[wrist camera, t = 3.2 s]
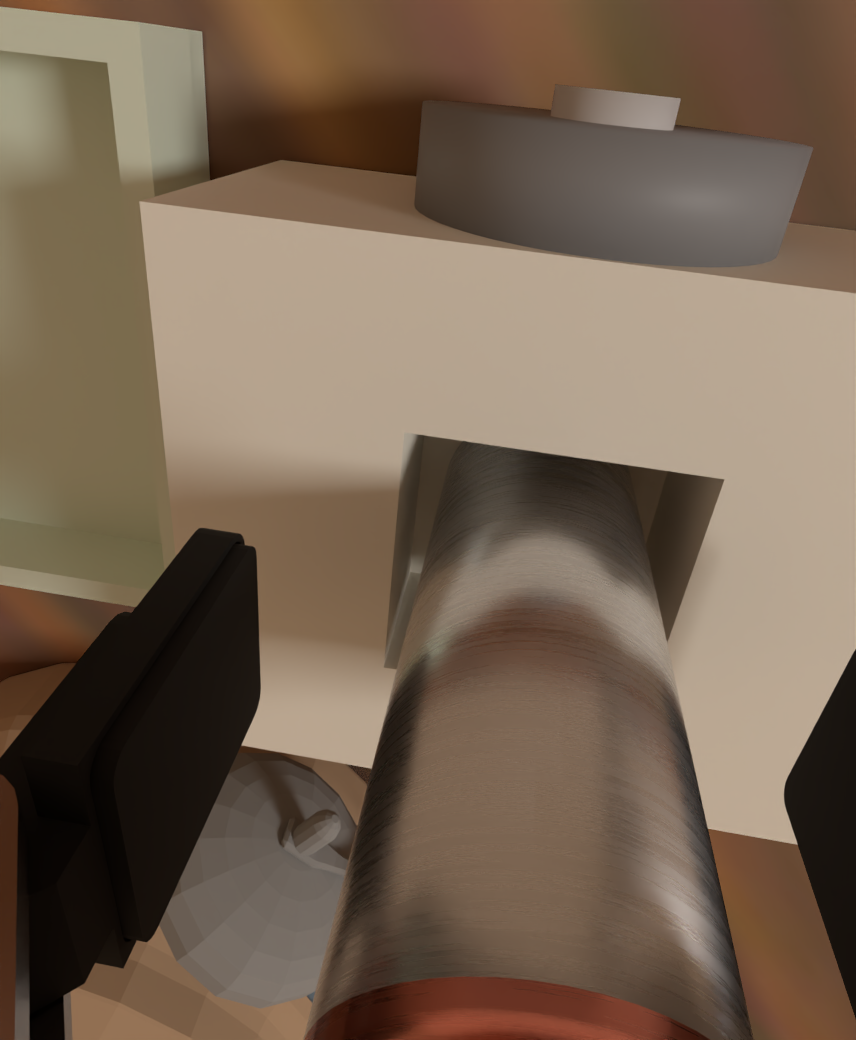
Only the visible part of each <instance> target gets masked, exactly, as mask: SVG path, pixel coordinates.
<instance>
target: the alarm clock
mask: <svg viewBox="0 0 856 1040" xmlns="http://www.w3.org/2000/svg"><path fill="white" fill-rule="evenodd" d="M75 664H76V663H60V664H57V665H53V666H49V667H45V668H42V669H38V670H34V671H30V672H27V673H23V674H19V675H15V676H12V677H9V678H6V679H5V680H3V681H2V682H0V757H1V756H2V755H3V754H4V752H5V751H6V750H7V749H8V747H9V746H10V745H11V744H12V742H13V741H14V740H15V739H16V737H17V736H18V735H19V734H20V732H21V731H22V730H23V729H24V727H25V726H26V725H27V724H28V723H29V721H30V720H31V719H32V718H33V716H34V715H35V714H36V713H37V711H38V710H39V709H40V708H41V706H42V705H43V704H44V703H45V701H46V700H47V699H48V698H49V697H50V695H51V694H52V693H53V692H54V690H55V689H56V688H57V687H58V685H59V684H60V683H61V682H62V680H63V679H64V678H65V677H66V675H67V674H68V673H69V672H70V671H71V669H72V668H73V667H74V666H75ZM366 789H367V784H366V782H365V781H364V780H363V779H362V778H361V777H360V776H359V775H357V774H356V773H355V772H354V771H353V770H352V769H351V768H350V767H349V766H348V765H347V764H343V763H338V762H332V761H326V760H321V759H315V758H310V757H304V756H298V755H293V754H287V753H282V752H276V751H270V750H265V749H259V748H254V747H248V746H242V745H241V747H240V749H239V751H238V753H237V756H236V758H235V760H234V762H233V764H232V767H231V769H230V771H229V773H228V775H227V778H226V780H225V782H224V784H223V786H222V788H221V791H220V793H219V795H218V797H217V799H216V802H215V804H214V806H213V808H212V810H211V812H210V815H209V817H208V819H207V821H206V823H205V826H204V828H203V830H202V832H201V834H200V836H199V839H198V841H197V843H196V845H195V847H194V850H193V852H192V854H191V856H190V858H189V861H188V863H187V865H186V867H185V869H184V871H183V874H182V876H181V878H180V880H179V882H178V885H177V887H176V889H175V891H174V893H173V895H172V898H171V900H170V902H169V904H168V906H167V909H166V911H165V913H164V915H163V917H162V919H161V922H160V924H159V926H158V928H157V930H156V932H155V934H154V935H153V937H152V938H151V939H150V940H149V941H148V942H142V941H136V943H135V945H134V947H133V950H132V952H131V954H130V956H129V958H128V960H127V962H126V964H125V966H124V968H118V967H113V966H108V965H103V964H98V963H95V964H94V966H93V968H92V970H91V972H90V974H89V976H88V978H87V980H86V982H85V984H83V985H81V986H80V987H78V988H76V989H74V990H73V991H71V1014H72V1037H73V1040H303V1038H304V1035H305V1031H306V1027H307V1023H308V1019H309V1015H310V1011H311V1007H312V1003H313V999H314V995H315V991H316V987H317V983H318V979H319V975H320V971H321V967H322V963H323V959H324V955H325V951H326V947H327V943H328V939H329V936H330V932H331V928H332V924H333V920H334V916H335V912H336V908H337V904H338V900H339V896H340V892H341V888H342V884H343V880H344V876H345V872H346V868H347V864H348V860H349V856H350V852H351V848H352V844H353V841H354V837H355V833H356V829H357V825H358V821H359V817H360V813H361V809H362V805H363V801H364V797H365V793H366Z"/></svg>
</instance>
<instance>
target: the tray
mask: <svg viewBox="0 0 856 1040" xmlns="http://www.w3.org/2000/svg"><path fill="white" fill-rule="evenodd" d="M207 181H210V169H209V151H208V132H207V114H206V95H205V77H204V59H203V40H202V32H201V31H194V30H187V29H181V28H174V27H167V26H161V25H154V24H147V23H141V22H132V21H123V20H114V19H105V18H97V17H88V16H79V15H70V14H61V13H52V12H43V11H34V10H25V9H16V8H7V7H0V585H6V586H12V587H18V588H24V589H30V590H36V591H42V592H48V593H54V594H60V595H66V596H72V597H78V598H84V599H90V600H96V601H102V602H108V603H114V604H120V605H126V606H132V607H137V605H138V604H139V603H140V602H141V600H142V599H143V598H144V596H145V595H146V594H147V593H148V591H149V590H150V589H151V587H152V586H153V585H154V584H155V582H156V581H157V580H158V578H159V577H160V576H161V575H162V573H163V572H164V571H165V569H166V568H167V567H168V566H169V564H170V563H171V562H172V560H173V559H174V558H175V557H176V556H175V546H174V536H173V526H172V516H171V507H170V497H169V487H168V477H167V467H166V458H165V448H164V438H163V428H162V418H161V408H160V399H159V389H158V379H157V369H156V359H155V350H154V340H153V330H152V320H151V310H150V300H149V291H148V281H147V271H146V261H145V251H144V242H143V232H142V222H141V212H140V202H139V201H142V200H145V199H149V198H152V197H156V196H159V195H163V194H166V193H169V192H173V191H176V190H180V189H183V188H187V187H190V186H193V185H197V184H200V183H204V182H207Z"/></svg>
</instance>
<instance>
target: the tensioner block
mask: <svg viewBox="0 0 856 1040" xmlns="http://www.w3.org/2000/svg"><path fill="white" fill-rule="evenodd" d="M680 100H681V99H680V98H672V97H663V96H654V95H645V94H636V93H627V92H619V91H610V90H601V89H592V88H583V87H574V86H566V85H557V84H555V91H554V97H553V103H552V109H551V110H545V109H535V108H525V107H515V106H505V105H493V104H482V103H469V102H454V101H423V102H422V115H421V127H420V139H419V152H418V164H417V176H408V175H400V174H392V173H384V172H376V171H368V170H360V169H351V168H343V167H335V166H327V165H319V164H311V163H303V162H295V161H286V160H279V161H276V162H272V163H269V164H265V165H262V166H259V167H255V168H252V169H248V170H245V171H241V172H238V173H235V174H231V175H228V176H224V177H221V178H217V179H214V180H211V181H207V182H204V183H200V184H197V185H193V186H190V187H187V188H183V189H180V190H176V191H173V192H169V193H166V194H163V195H159V196H156V197H152V198H149V199H145V200H142V201H139V202H140V212H141V222H142V232H143V242H144V251H145V261H146V271H147V281H148V291H149V300H150V310H151V320H152V330H153V340H154V350H155V359H156V369H157V379H158V389H159V399H160V408H161V418H162V428H163V438H164V448H165V458H166V467H167V477H168V487H169V497H170V507H171V516H172V526H173V536H174V546H175V556H176V555H177V554H178V553H179V552H180V550H181V549H182V548H183V546H184V545H185V544H186V543H187V541H188V540H189V539H190V537H191V536H192V535H193V534H194V532H195V531H196V530H197V529H199V528H208V529H214V530H220V531H227V532H233V533H239V534H241V535H242V536H243V538H244V542H245V545H248V546H253V547H255V549H256V554H257V581H258V613H259V646H260V678H261V693H260V700H259V704H258V708H257V711H256V714H255V716H254V719H253V721H252V723H251V725H250V727H249V729H248V732H247V734H246V736H245V738H244V740H243V743H242V746H248V747H254V748H259V749H265V750H270V751H276V752H282V753H287V754H293V755H298V756H304V757H310V758H315V759H321V760H326V761H332V762H338V763H343V764H349V765H354V766H360V767H366V768H371V769H372V765H373V761H374V757H375V753H376V749H377V745H378V742H379V738H380V734H381V730H382V726H383V722H384V718H385V714H386V710H387V706H388V702H389V698H390V694H391V690H392V686H393V682H394V678H395V674H396V670H397V666H398V662H399V658H400V654H401V650H402V646H403V643H404V639H405V635H406V631H407V627H408V623H409V619H410V615H411V611H412V607H413V603H414V599H415V595H416V591H417V587H418V583H419V579H420V575H421V571H422V567H423V563H424V559H425V555H426V551H427V548H428V544H429V540H430V536H431V532H432V528H433V524H434V520H435V516H436V512H437V508H438V504H439V500H440V496H441V492H442V488H443V484H444V480H445V476H446V472H447V469H448V466H449V463H450V461H451V458H452V457H453V455H454V453H455V451H456V449H457V448H458V447H459V445H460V444H461V443H462V441H466V442H473V443H480V444H487V445H494V446H501V447H507V448H514V449H521V450H528V451H535V452H541V453H548V454H555V455H562V456H569V457H575V458H582V459H589V460H596V461H603V462H610V463H616V464H623V465H628V468H629V471H630V475H631V480H632V484H633V489H634V493H635V498H636V502H637V507H638V512H639V516H640V521H641V525H642V530H643V534H644V539H645V544H646V548H647V553H648V557H649V562H650V567H651V571H652V576H653V580H654V585H655V589H656V594H657V599H658V603H659V608H660V612H661V617H662V621H663V626H664V631H665V635H666V640H667V644H668V649H669V653H670V658H671V663H672V667H673V672H674V676H675V681H676V686H677V690H678V695H679V699H680V704H681V708H682V713H683V718H684V722H685V727H686V731H687V736H688V740H689V745H690V750H691V754H692V759H693V763H694V768H695V772H696V777H697V782H698V786H699V791H700V795H701V800H702V805H703V809H704V814H705V818H706V823H707V827H708V829H713V830H719V831H725V832H730V833H736V834H741V835H747V836H753V837H758V838H764V839H769V840H775V841H781V842H786V843H792V844H797V841H796V838H795V835H794V832H793V829H792V826H791V823H790V820H789V817H788V814H787V811H786V807H785V803H784V787H785V782H786V780H787V777H788V775H789V774H790V772H791V770H792V768H793V766H794V764H795V762H796V760H797V758H798V757H799V755H800V753H801V751H802V749H803V747H804V745H805V743H806V741H807V740H808V738H809V736H810V734H811V732H812V730H813V728H814V726H815V724H816V722H817V721H818V719H819V717H820V715H821V713H822V711H823V709H824V707H825V705H826V704H827V702H828V700H829V698H830V696H831V694H832V692H833V690H834V688H835V687H836V685H837V683H838V681H839V679H840V677H841V675H842V673H843V671H844V669H845V668H846V666H847V664H848V662H849V660H850V658H851V656H852V654H853V652H854V651H855V649H856V231H855V230H847V229H839V228H831V227H823V226H815V225H807V224H798V223H790V222H789V220H790V217H791V214H792V211H793V208H794V205H795V202H796V199H797V196H798V193H799V190H800V187H801V184H802V181H803V178H804V175H805V172H806V169H807V166H808V163H809V160H810V157H811V154H812V151H813V148H812V147H810V146H806V145H802V144H797V143H792V142H787V141H782V140H776V139H770V138H764V137H758V136H751V135H745V134H738V133H731V132H724V131H717V130H710V129H703V128H696V127H688V126H681V125H675V121H676V117H677V113H678V108H679V104H680ZM797 845H798V844H797Z"/></svg>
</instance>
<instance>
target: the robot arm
mask: <svg viewBox="0 0 856 1040" xmlns="http://www.w3.org/2000/svg"><path fill="white" fill-rule="evenodd" d="M260 693H261V678H260V646H259V613H258V581H257V554H256V549H255V547H253V546H248V545H245V542H244V538H243V536H242V535H241V534H239V533H233V532H227V531H220V530H214V529H208V528H199V529H197V530H196V531H195V532H194V534H193V535H192V536H191V537H190V539H189V540H188V541H187V543H186V544H185V545H184V546H183V548H182V549H181V550H180V552H179V553H178V554H177V555H176V557H175V558H174V559H173V560H172V562H171V563H170V564H169V566H168V567H167V568H166V569H165V571H164V572H163V573H162V575H161V576H160V577H159V578H158V580H157V581H156V582H155V584H154V585H153V586H152V587H151V589H150V590H149V591H148V593H147V594H146V595H145V596H144V598H143V599H142V600H141V602H140V603H139V604H138V605H137V607H136V608H135V609H134V611H133V612H132V613H129V612H123V613H120V614H118V615H117V616H115V617H114V618H113V619H112V620H111V621H110V622H109V623H108V625H107V626H106V627H105V628H104V630H103V631H102V632H101V633H100V635H99V636H98V637H97V638H96V640H95V641H94V642H93V643H92V644H91V646H90V647H89V648H88V649H87V651H86V652H85V653H84V654H83V656H82V657H81V658H80V659H79V661H78V662H77V663H76V664H75V666H74V667H73V668H72V669H71V671H70V672H69V673H68V674H67V675H66V677H65V678H64V679H63V680H62V682H61V683H60V684H59V685H58V687H57V688H56V689H55V690H54V692H53V693H52V694H51V695H50V697H49V698H48V699H47V700H46V701H45V703H44V704H43V705H42V706H41V708H40V709H39V710H38V711H37V713H36V714H35V715H34V716H33V718H32V719H31V720H30V721H29V723H28V724H27V725H26V726H25V727H24V729H23V730H22V731H21V732H20V734H19V735H18V736H17V737H16V739H15V740H14V741H13V742H12V744H11V745H10V746H9V747H8V749H7V750H6V751H5V752H4V754H3V755H2V756H1V757H0V1040H73V1037H72V1014H71V991H73V990H74V989H76V988H78V987H80V986H81V985H83V984H85V982H86V980H87V978H88V976H89V974H90V972H91V970H92V968H93V966H94V964H95V963H98V964H103V965H108V966H113V967H118V968H124V966H125V964H126V962H127V960H128V958H129V956H130V954H131V952H132V950H133V947H134V945H135V943H136V941H142V942H148V941H149V940H150V939H151V938H152V937H153V935H154V934H155V932H156V930H157V928H158V926H159V924H160V922H161V919H162V917H163V915H164V913H165V911H166V909H167V906H168V904H169V902H170V900H171V898H172V895H173V893H174V891H175V889H176V887H177V885H178V882H179V880H180V878H181V876H182V874H183V871H184V869H185V867H186V865H187V863H188V861H189V858H190V856H191V854H192V852H193V850H194V847H195V845H196V843H197V841H198V839H199V836H200V834H201V832H202V830H203V828H204V826H205V823H206V821H207V819H208V817H209V815H210V812H211V810H212V808H213V806H214V804H215V802H216V799H217V797H218V795H219V793H220V791H221V788H222V786H223V784H224V782H225V780H226V778H227V775H228V773H229V771H230V769H231V767H232V764H233V762H234V760H235V758H236V756H237V753H238V751H239V749H240V747H241V745H242V743H243V740H244V738H245V736H246V734H247V732H248V729H249V727H250V725H251V723H252V721H253V719H254V716H255V714H256V711H257V708H258V704H259V700H260ZM784 803H785V807H786V811H787V814H788V817H789V820H790V823H791V826H792V829H793V832H794V835H795V838H796V841H797V844H798V847H799V850H800V853H801V856H802V859H803V862H804V865H805V868H806V871H807V874H808V877H809V880H810V883H811V886H812V889H813V892H814V895H815V898H816V901H817V904H818V907H819V910H820V913H821V916H822V919H823V922H824V925H825V928H826V931H827V934H828V937H829V940H830V943H831V946H832V949H833V952H834V955H835V958H836V961H837V964H838V967H839V970H840V973H841V976H842V979H843V982H844V985H845V988H846V991H847V994H848V997H849V1000H850V1003H851V1006H852V1009H853V1012H854V1015H855V1018H856V649H855V651H854V652H853V654H852V656H851V658H850V660H849V662H848V664H847V666H846V668H845V669H844V671H843V673H842V675H841V677H840V679H839V681H838V683H837V685H836V687H835V688H834V690H833V692H832V694H831V696H830V698H829V700H828V702H827V704H826V705H825V707H824V709H823V711H822V713H821V715H820V717H819V719H818V721H817V722H816V724H815V726H814V728H813V730H812V732H811V734H810V736H809V738H808V740H807V741H806V743H805V745H804V747H803V749H802V751H801V753H800V755H799V757H798V758H797V760H796V762H795V764H794V766H793V768H792V770H791V772H790V774H789V775H788V777H787V780H786V782H785V787H784Z"/></svg>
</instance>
